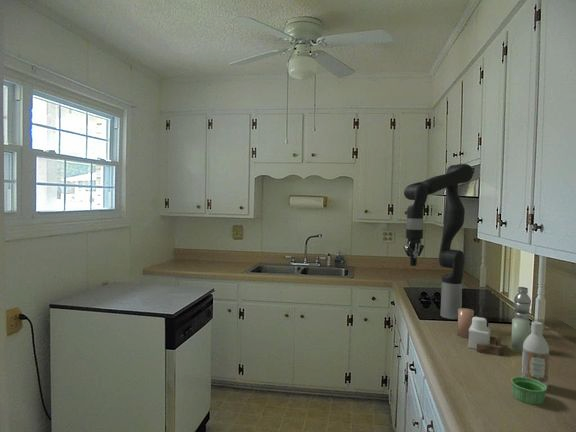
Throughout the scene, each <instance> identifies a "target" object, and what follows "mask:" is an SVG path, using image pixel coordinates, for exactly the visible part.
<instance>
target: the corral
mask: <svg viewBox="0 0 576 432" xmlns="http://www.w3.org/2000/svg"><path fill="white" fill-rule="evenodd" d="M503 349H504V347H503V345H502V343H501V340H500V337H499V335H498V336H497V335H492V334H490V345H487V344H480V343H477V349H476V352H477V353H482V354H483V353H484V354H490V355H496V356H501V357H502V356H503V354H504V353H503V352H504V351H503Z"/></svg>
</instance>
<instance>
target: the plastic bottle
mask: <svg viewBox="0 0 576 432" xmlns="http://www.w3.org/2000/svg"><path fill="white" fill-rule="evenodd" d="M528 289H529V288H528V287H524V286H519V287H518V289H517V292H518V293H517V294H516V295H515V297H514V298H513V301H514V318H521V319H526V320H528V321H530V309H531V305H532V304H531V303H532V300H531V299H532V298H531V297H530V296H529V294H528V292H529V291H528Z"/></svg>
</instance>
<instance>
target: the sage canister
mask: <svg viewBox="0 0 576 432" xmlns="http://www.w3.org/2000/svg"><path fill="white" fill-rule="evenodd" d="M530 334H531V321H530V320H529V321H528V320H526V319H521V318H515V317H513V318H512V319H511V337H510V338H511V339H510V347H511V348H512V349H513V350H516V351H521V352H523V344H524V341H525V339H526V338H527V337H528V336H529V335H530Z"/></svg>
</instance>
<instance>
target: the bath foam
mask: <svg viewBox="0 0 576 432" xmlns="http://www.w3.org/2000/svg"><path fill="white" fill-rule="evenodd" d="M543 327H544V324H543V323H542V322H540V321H535V320H534V321H531V324H530V334H529V336H528V337H527V338H526V339H525V341H524V344H523V351H522V358H521V359H522V360H521V362H522V363H521V377H526V378H531V379H535V380H537V381H540V382H541V383H543V384H544V385H545V386H546V387H547V388H548V382H549V367H550V365H549V362H550V348H549V344H548V342H547V340H546V339H545V338H544V337H545V336H544V335H543Z"/></svg>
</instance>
